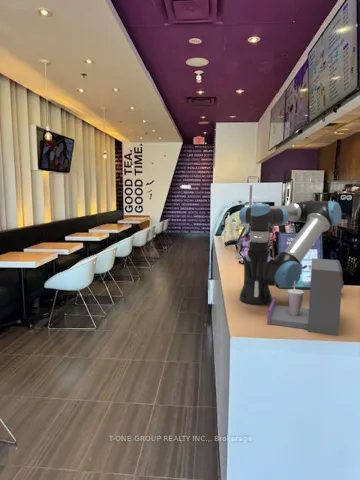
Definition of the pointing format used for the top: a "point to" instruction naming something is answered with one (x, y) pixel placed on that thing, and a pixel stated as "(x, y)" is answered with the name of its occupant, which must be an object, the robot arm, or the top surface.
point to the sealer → (325, 296)
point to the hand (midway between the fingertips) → (256, 296)
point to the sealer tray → (287, 316)
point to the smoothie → (295, 300)
